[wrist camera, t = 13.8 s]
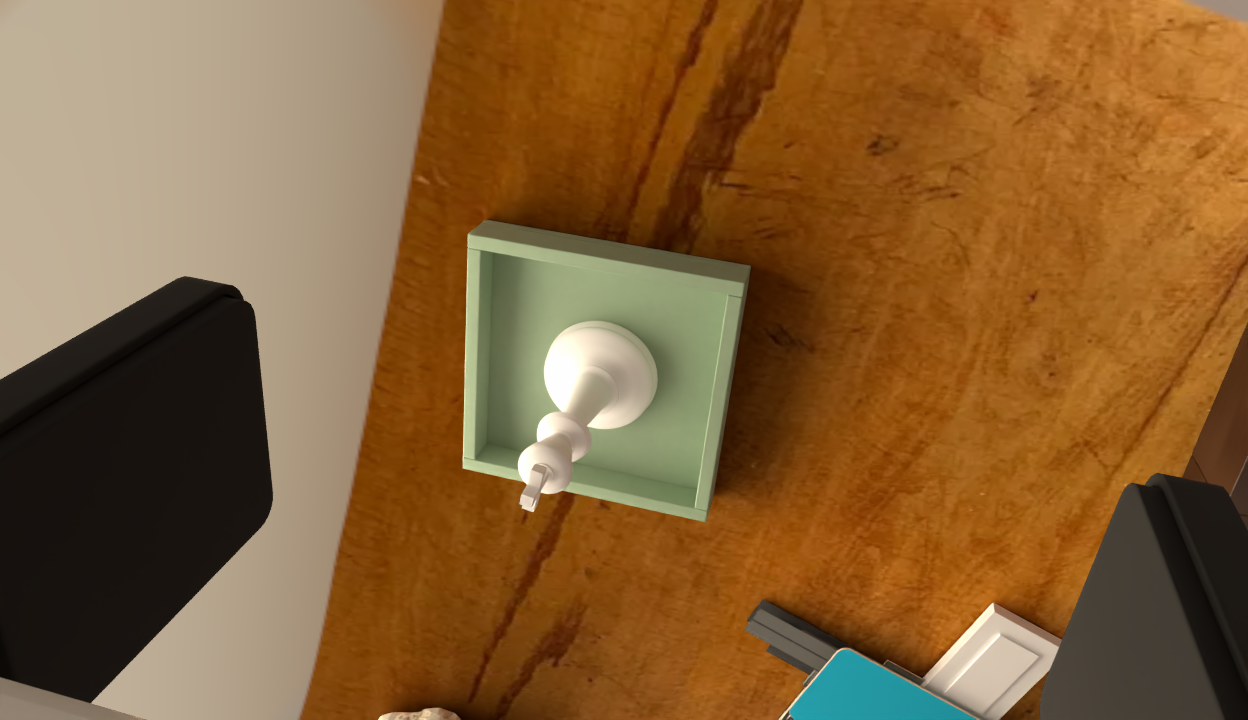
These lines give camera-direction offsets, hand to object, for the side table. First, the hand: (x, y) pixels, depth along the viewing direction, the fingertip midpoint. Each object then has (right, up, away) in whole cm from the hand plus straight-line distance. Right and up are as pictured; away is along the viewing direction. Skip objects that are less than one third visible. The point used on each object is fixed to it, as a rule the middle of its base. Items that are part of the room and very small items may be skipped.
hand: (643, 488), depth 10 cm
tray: (-1, +1, +32) cm, 32 cm away
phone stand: (+15, -15, +35) cm, 41 cm away
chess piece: (-1, +1, +32) cm, 32 cm away
